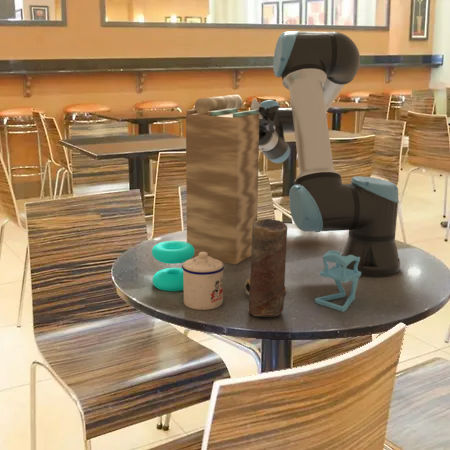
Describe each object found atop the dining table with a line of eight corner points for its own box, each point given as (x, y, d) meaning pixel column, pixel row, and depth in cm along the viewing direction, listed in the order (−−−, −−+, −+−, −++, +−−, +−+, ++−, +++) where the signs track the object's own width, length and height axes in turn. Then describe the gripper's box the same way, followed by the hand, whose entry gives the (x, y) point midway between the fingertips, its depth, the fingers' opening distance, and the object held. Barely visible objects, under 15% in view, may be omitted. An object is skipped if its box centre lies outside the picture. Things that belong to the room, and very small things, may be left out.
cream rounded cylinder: (231, 110, 184) (229, 95, 183) (243, 108, 182) (241, 93, 181) (196, 115, 169) (193, 99, 168) (209, 113, 167) (206, 97, 166)
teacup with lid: (219, 312, 140) (219, 260, 137) (177, 309, 141) (177, 257, 138) (229, 292, 151) (230, 244, 148) (191, 289, 153) (191, 241, 150)
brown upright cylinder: (283, 307, 142) (286, 218, 137) (285, 321, 135) (288, 228, 130) (248, 307, 143) (249, 218, 137) (248, 320, 136) (250, 227, 130)
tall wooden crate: (210, 244, 188) (210, 106, 178) (256, 252, 180) (259, 109, 170) (187, 255, 178) (185, 110, 168) (234, 264, 170) (236, 113, 160)
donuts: (197, 250, 149) (153, 252, 147) (197, 291, 151) (154, 294, 150) (191, 238, 158) (150, 240, 157) (191, 277, 161) (151, 279, 159)
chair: (364, 301, 146) (367, 250, 143) (343, 312, 140) (346, 258, 137) (335, 293, 151) (337, 243, 148) (314, 302, 145) (316, 251, 142)
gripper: (296, 149, 191) (268, 117, 173) (223, 142, 204) (189, 112, 186) (302, 125, 193) (275, 91, 175) (229, 120, 205) (197, 88, 187)
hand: (231, 102), depth 180 cm, fingers open, 13 cm apart
